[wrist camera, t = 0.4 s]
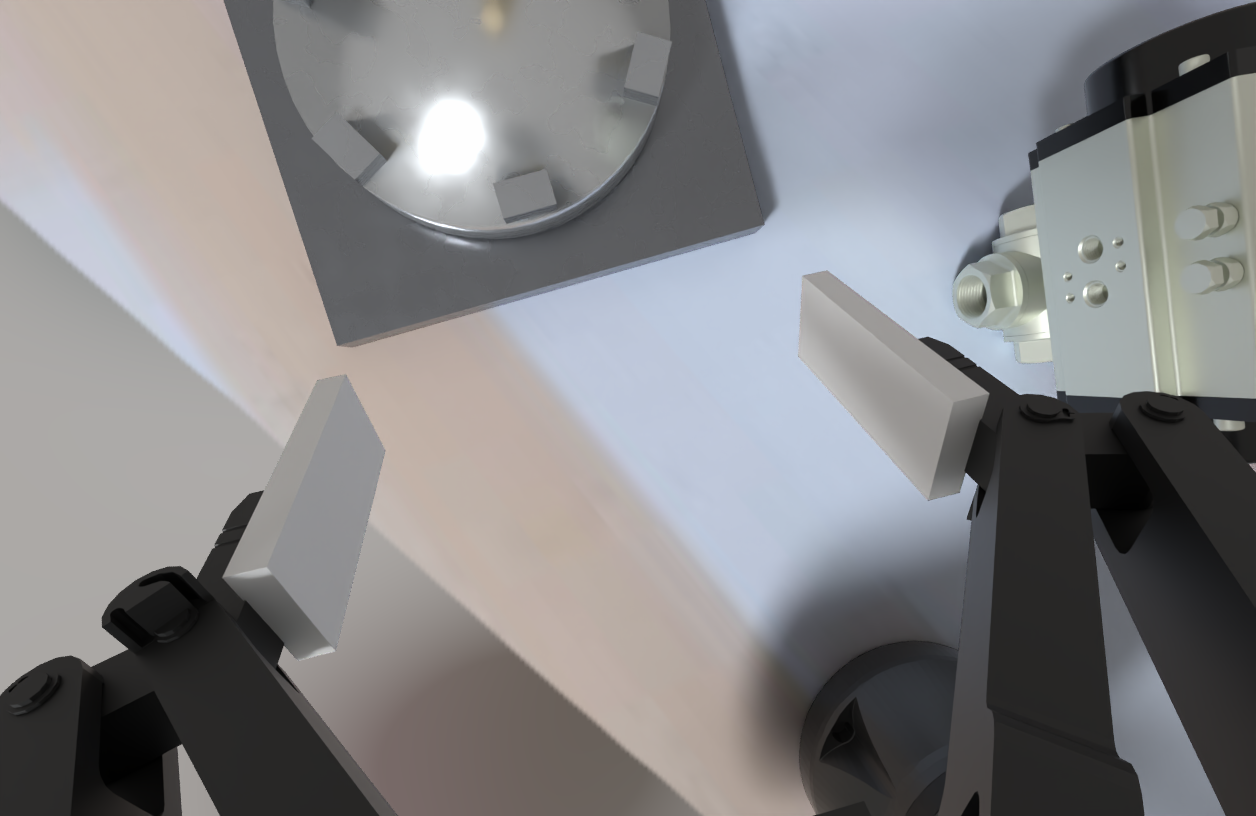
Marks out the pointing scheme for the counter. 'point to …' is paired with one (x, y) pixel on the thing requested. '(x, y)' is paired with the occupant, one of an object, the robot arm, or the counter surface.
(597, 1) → the silver tabbed disc
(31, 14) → the counter surface
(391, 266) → the base plate
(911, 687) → the robot arm
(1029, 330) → the ball valve
